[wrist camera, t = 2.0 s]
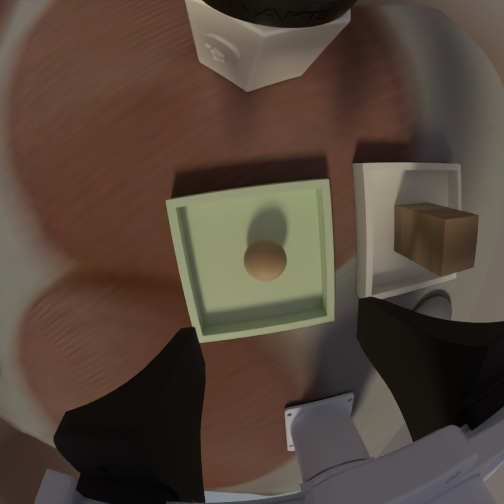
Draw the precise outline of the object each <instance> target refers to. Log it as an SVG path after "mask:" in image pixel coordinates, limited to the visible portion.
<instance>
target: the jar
mask: <svg viewBox="0 0 504 504" xmlns="http://www.w3.org/2000/svg"><path fill="white" fill-rule="evenodd" d="M356 1H357V0H185V4H186V8H187V13H188V17H189V21H190V25H191V30H192V34H193V38H194V42H195V47H196V51H197V55H198V59H199V62H200V63H202V64H204V65H205V66H207V67H209V68H210V69H212V70H214V71H215V72H217V73H218V74H220V75H222V76H223V77H225V78H226V79H228V80H229V81H231V82H232V83H234V84H236V85H237V86H239V87H240V88H242V89H243V90H245V91H246V92H250V91H253V90H255V89H258V88H261V87H264V86H268V85H271V84H274V83H277V82H281V81H284V80H287V79H291V78H294V77H298V76H301V75H303V74H304V72H305V71H306V70H307V69H308V68H309V67H310V65H311V64H312V63H313V62H314V61H315V60H316V58H317V57H318V56H319V55H320V54H321V53H322V52H323V51H324V49H325V48H326V47H327V46H328V45H329V44H330V43H331V42H332V41H333V40H334V38H335V37H336V36H337V35H338V34H339V33H340V32H341V31H342V30H343V29H344V28H345V27H346V26H347V25H348V24H349V22H350V21H351V7H352V6H353V5H354V3H355V2H356Z"/></svg>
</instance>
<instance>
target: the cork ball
mask: <svg viewBox="0 0 504 504" xmlns="http://www.w3.org/2000/svg"><path fill="white" fill-rule="evenodd" d="M286 264H287V257H286V253H285V251H284V249H283V247H282V246H281V245H280V244H279V243H278V242H276V241H274V240H272V239H259V240H256V241H254V242H253V243H252V244H250V245H249V247H248V248H247V249H246V251H245V254H244V266H245V269H246V271H247V272H248V274H249V275H250V276H251V277H252V278H254V279H256V280H258V281H262V282H268V281H272V280H275V279H277V278H278V277H279V276H280V275H281V274H282V273H283V272H284V270H285V267H286Z"/></svg>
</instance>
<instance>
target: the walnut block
mask: <svg viewBox="0 0 504 504" xmlns="http://www.w3.org/2000/svg"><path fill="white" fill-rule="evenodd" d="M477 231H478V215H475V214H472V213H468V212H464V211H461V210H457V209H453V208H449V207H445V206H441V205H437V204H432V203H428V202H426V203H415V204H404V205H394V251H395V252H397V253H399V254H400V255H402V256H404V257H406V258H408V259H410V260H411V261H413V262H415V263H417V264H419V265H420V266H422V267H424V268H426V269H427V270H429V271H431V272H433V273H434V274H436V275H438V276H440V277H443V276H446V275H450V274H453V273H456V272H459V271H463V270H466V269H469V268H472V267H474V261H475V253H476V243H477Z"/></svg>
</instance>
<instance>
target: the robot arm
mask: <svg viewBox="0 0 504 504" xmlns="http://www.w3.org/2000/svg"><path fill="white" fill-rule="evenodd" d="M356 337H357V339H358V341H359V343H360V345H361V347H362V349H363V351H364V353H365V354H366V356H367V357H368V359H369V360H370V362H371V363H372V364H373V366H374V367H375V369H376V370H377V372H378V373H379V374H380V376H381V377H382V379H383V380H384V381H385V383H386V384H387V386H388V387H389V389H390V391H391V392H392V394H393V396H394V398H395V400H396V402H397V404H398V406H399V408H400V410H401V413H402V415H403V417H404V419H405V422H406V424H407V427H408V429H409V432H410V434H411V437H412V440H413V443H411V444H409V445H407V446H405V447H403V448H400V449H398V450H396V451H393V452H391V453H388V454H386V455H384V456H381V457H379V458H376V459H374V457H371V458H370V455H369V453H368V451H367V449H366V447H365V445H364V443H363V441H362V439H361V437H360V435H359V433H358V430H357V428H356V426H355V424H354V422H353V420H352V418H351V411H352V406H353V400H354V394H353V392H349V393H346V394H342V395H339V396H335V397H331V398H327V399H323V400H319V401H315V402H311V403H306V404H302V405H297V406H292V407H287V408H286V409H285V410H284V413H285V425H286V438H287V449H288V451H294V450H295V453H296V456H297V460H298V464H299V468H300V472H301V476H302V479H303V483H302V484H300V486H301V490H302V492H299V493H297V494H292V495H287V496H281V497H274V498H267V499H259V500H250V501H239V502H223V503H205V496H204V488H203V477H202V464H201V441H200V429H201V417H202V409H203V400H204V392H205V362H204V358H203V355H202V351H201V347H200V344H199V340H198V336H197V332H196V329H195V327H188V328H181V329H180V330H179V331H178V332H177V333H176V335H175V336H174V337H173V338H172V339H171V341H170V342H169V343H168V344H167V345H166V346H165V347H164V349H163V350H162V351H161V352H160V353H159V354H158V355H157V356H156V357H155V358H154V359H153V360H152V361H151V362H150V363H149V364H148V365H147V366H146V367H145V368H144V369H143V370H142V371H140V372H139V373H138V374H137V375H136V376H134V377H133V378H132V379H130V380H129V381H128V382H126V383H125V384H123V385H122V386H120V387H119V388H117V389H116V390H114V391H112V392H111V393H109V394H107V395H105V396H103V397H102V398H100V399H97V400H95V401H93V402H91V403H89V404H86V405H84V406H81V407H78V408H76V409H73V410H70V411H67V412H66V413H65V415H64V417H63V419H62V421H61V423H60V425H59V427H58V429H57V431H56V433H55V435H54V443H55V446H56V448H57V449H58V451H59V452H60V453H61V454H62V455H63V457H65V459H66V460H67V461H69V463H71V465H73V467H74V468H75V469H76V470H78V471H79V472H80V473H81V474H80V478H79V480H77V479H75V478H74V477H72V476H69V475H66V474H63V473H60V472H57V471H54V470H51V469H47V471H46V473H45V476H44V478H43V481H42V483H41V486H40V489H39V492H38V494H37V498H36V500H35V503H34V504H497V503H496V501H495V499H494V498H493V496H492V495H491V493H490V492H489V490H488V489H487V487H486V486H485V484H484V481H485V480H486V479H487V478H488V477H490V476H491V475H492V474H493V473H494V472H495V471H497V470H498V469H499V468H500V467H501V466H502V465H503V464H504V321H501V322H490V323H471V322H459V321H451V320H445V319H440V318H436V317H431V316H428V315H424V314H421V313H418V312H415V311H412V310H409V309H406V308H403V307H400V306H398V305H395V304H392V303H390V302H387V301H384V300H381V299H379V298H375V297H371V296H370V297H365V298H361V299H359V305H358V322H357V336H356ZM289 413H290V414H289Z"/></svg>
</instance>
